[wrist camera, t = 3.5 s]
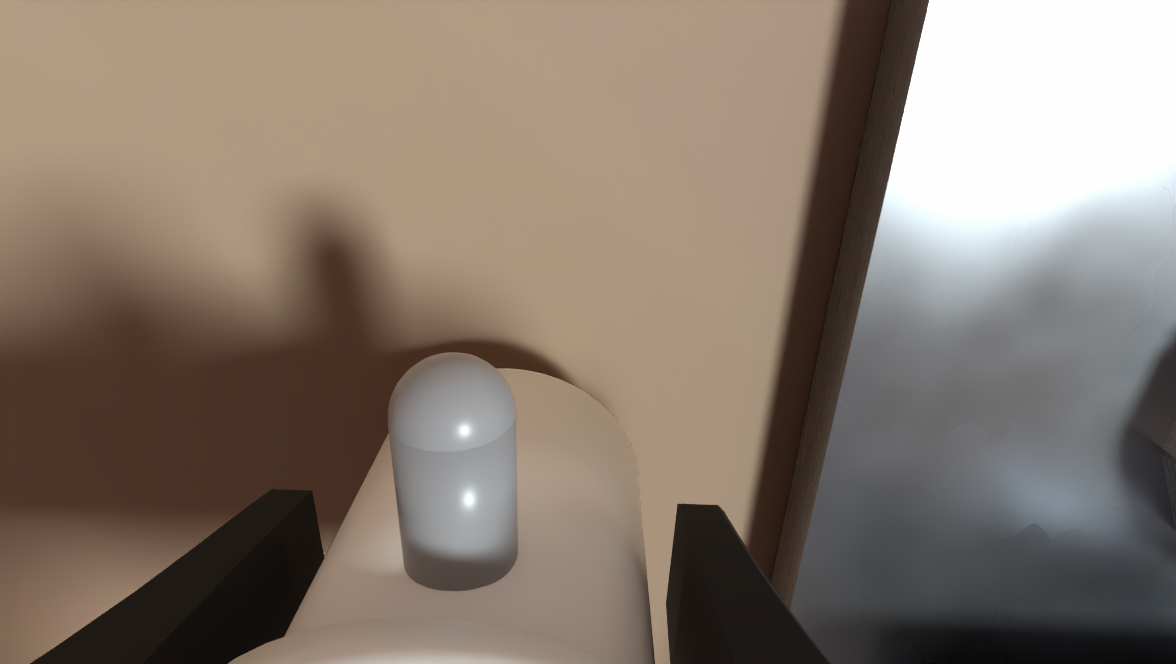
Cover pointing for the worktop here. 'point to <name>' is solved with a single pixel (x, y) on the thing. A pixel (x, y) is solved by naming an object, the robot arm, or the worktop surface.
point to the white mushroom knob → (484, 533)
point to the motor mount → (1000, 349)
